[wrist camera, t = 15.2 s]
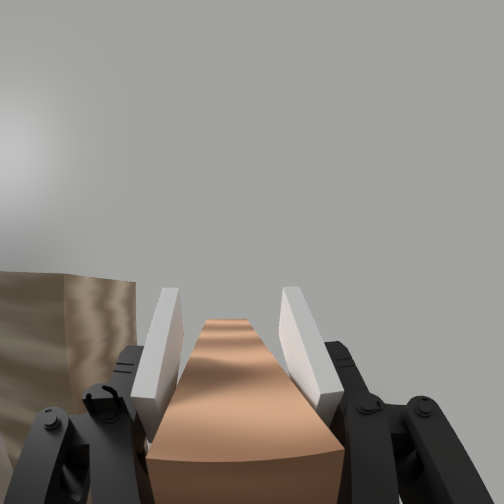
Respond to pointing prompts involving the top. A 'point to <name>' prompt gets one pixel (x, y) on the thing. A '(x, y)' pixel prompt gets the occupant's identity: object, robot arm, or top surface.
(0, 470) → the top surface
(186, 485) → the bar
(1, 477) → the top surface
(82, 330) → the tall stand
